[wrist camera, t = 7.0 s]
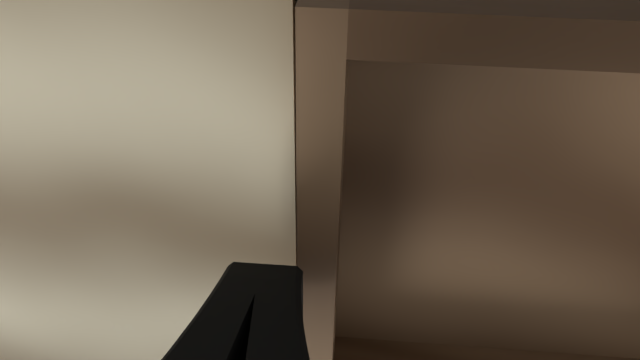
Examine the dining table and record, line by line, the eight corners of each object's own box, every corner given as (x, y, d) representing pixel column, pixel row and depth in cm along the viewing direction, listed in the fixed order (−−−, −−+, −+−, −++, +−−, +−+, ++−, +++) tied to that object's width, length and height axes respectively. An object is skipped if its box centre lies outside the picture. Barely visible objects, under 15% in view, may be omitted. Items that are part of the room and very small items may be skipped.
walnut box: (717, 366, 17) (777, 467, 14) (309, 336, 17) (298, 427, 15) (969, -18, 10) (1157, 43, 8) (312, -43, 11) (295, 6, 8)
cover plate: (305, 343, 17) (298, 403, 15) (-79, 316, 18) (-126, 370, 16) (304, -40, 11) (292, -10, 9) (-291, -60, 11) (-403, -34, 10)
